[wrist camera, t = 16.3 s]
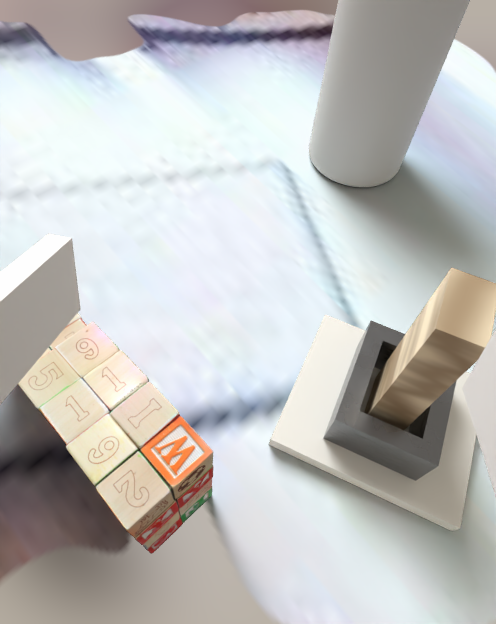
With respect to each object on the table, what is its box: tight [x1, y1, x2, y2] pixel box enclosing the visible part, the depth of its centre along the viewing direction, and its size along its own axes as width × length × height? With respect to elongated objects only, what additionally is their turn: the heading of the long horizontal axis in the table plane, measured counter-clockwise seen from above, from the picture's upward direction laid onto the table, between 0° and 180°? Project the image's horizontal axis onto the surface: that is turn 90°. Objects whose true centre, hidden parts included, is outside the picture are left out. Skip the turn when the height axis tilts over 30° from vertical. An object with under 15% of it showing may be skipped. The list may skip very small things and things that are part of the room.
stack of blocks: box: [18, 313, 213, 553], centre depth 34 cm, size 21×6×12 cm, turn 44°
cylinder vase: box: [309, 0, 470, 187], centre depth 51 cm, size 12×12×25 cm
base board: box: [269, 315, 476, 531], centre depth 40 cm, size 16×14×2 cm
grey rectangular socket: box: [323, 321, 457, 481], centre depth 38 cm, size 8×10×4 cm
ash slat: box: [364, 268, 496, 430], centre depth 33 cm, size 3×5×16 cm, turn 155°
